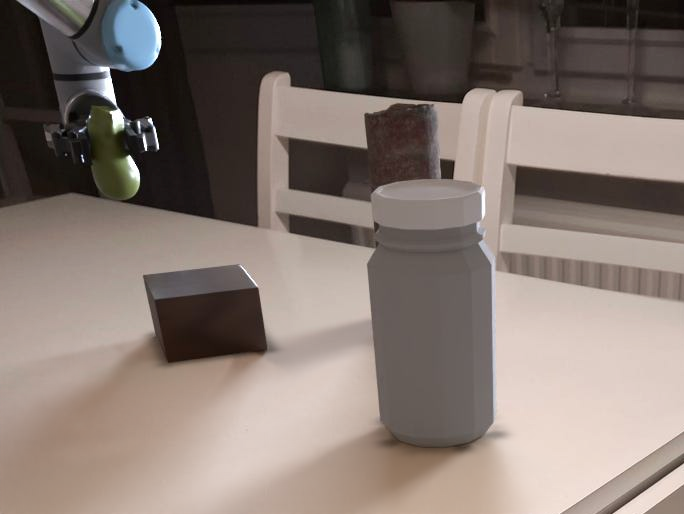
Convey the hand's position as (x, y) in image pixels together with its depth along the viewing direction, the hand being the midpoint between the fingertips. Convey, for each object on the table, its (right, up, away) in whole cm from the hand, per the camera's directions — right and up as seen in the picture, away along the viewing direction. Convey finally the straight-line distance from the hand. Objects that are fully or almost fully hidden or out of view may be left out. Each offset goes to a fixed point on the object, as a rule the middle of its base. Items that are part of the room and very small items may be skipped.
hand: (111, 150), depth 116 cm
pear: (-2, -2, +8) cm, 8 cm away
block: (+15, -27, -12) cm, 33 cm away
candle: (+36, -22, -7) cm, 43 cm away
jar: (+39, -42, -32) cm, 66 cm away
